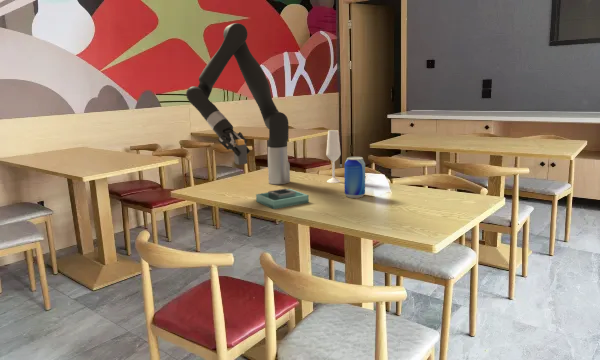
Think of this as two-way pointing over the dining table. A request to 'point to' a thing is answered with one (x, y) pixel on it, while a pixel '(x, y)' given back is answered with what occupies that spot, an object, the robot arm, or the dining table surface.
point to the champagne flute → (333, 151)
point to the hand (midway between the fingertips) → (244, 153)
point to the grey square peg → (243, 149)
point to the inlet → (281, 194)
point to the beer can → (354, 177)
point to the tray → (282, 200)
